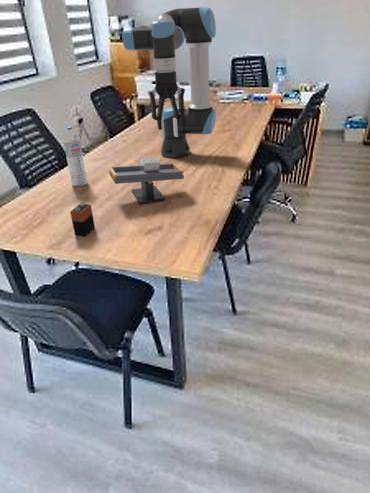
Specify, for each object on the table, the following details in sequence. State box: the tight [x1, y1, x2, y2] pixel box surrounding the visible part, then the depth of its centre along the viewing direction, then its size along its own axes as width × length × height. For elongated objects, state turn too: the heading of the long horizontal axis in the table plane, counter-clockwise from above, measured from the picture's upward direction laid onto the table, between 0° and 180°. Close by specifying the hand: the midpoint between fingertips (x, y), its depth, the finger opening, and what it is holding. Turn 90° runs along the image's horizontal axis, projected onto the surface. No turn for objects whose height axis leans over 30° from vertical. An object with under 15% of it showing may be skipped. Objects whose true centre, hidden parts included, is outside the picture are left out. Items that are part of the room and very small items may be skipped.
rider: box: [139, 157, 160, 173], centre depth 156 cm, size 6×6×5 cm
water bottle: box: [62, 126, 88, 188], centre depth 170 cm, size 7×7×25 cm
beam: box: [108, 162, 185, 185], centre depth 157 cm, size 27×12×4 cm, turn 110°
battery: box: [70, 201, 95, 237], centre depth 136 cm, size 4×7×10 cm, turn 163°
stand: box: [131, 181, 166, 206], centre depth 160 cm, size 10×14×7 cm
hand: (169, 136), depth 153 cm, fingers open, 4 cm apart
